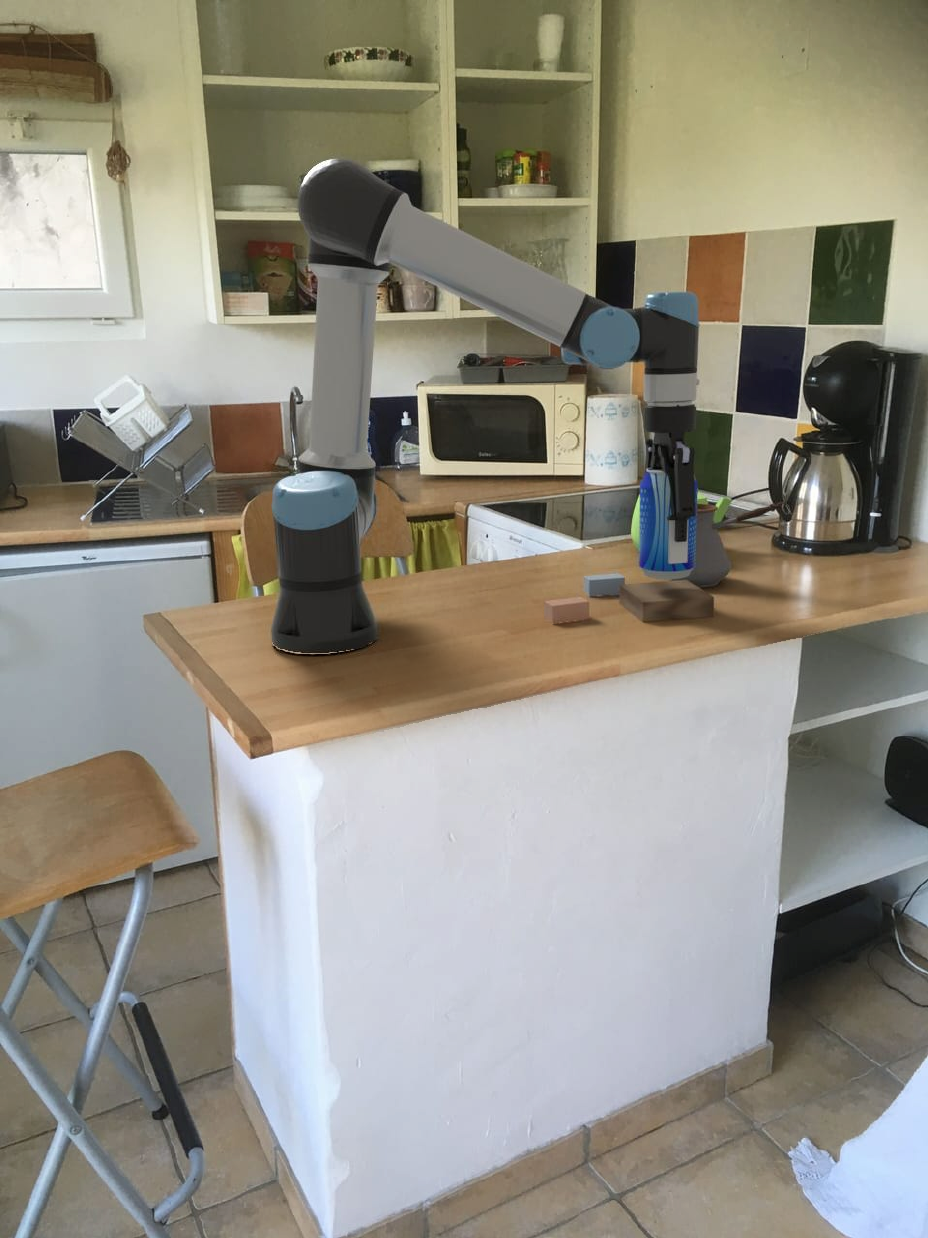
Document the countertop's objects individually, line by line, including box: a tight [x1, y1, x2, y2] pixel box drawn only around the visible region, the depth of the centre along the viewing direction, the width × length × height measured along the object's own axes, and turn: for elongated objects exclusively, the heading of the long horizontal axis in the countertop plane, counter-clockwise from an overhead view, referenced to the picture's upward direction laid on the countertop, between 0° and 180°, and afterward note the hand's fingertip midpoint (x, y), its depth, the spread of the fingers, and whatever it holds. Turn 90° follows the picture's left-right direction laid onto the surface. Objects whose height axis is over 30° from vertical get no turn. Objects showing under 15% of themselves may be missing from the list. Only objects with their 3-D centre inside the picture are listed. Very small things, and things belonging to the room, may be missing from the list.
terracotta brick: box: [543, 596, 590, 624], centre depth 153 cm, size 6×3×3 cm, turn 109°
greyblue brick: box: [583, 573, 626, 597], centre depth 167 cm, size 6×3×3 cm, turn 100°
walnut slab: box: [619, 580, 715, 623], centre depth 156 cm, size 11×11×3 cm
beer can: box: [638, 467, 699, 580], centre depth 153 cm, size 8×8×16 cm
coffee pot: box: [670, 501, 791, 588], centre depth 167 cm, size 21×12×15 cm, turn 50°
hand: (666, 556), depth 154 cm, fingers closed on beer can, 8 cm apart
